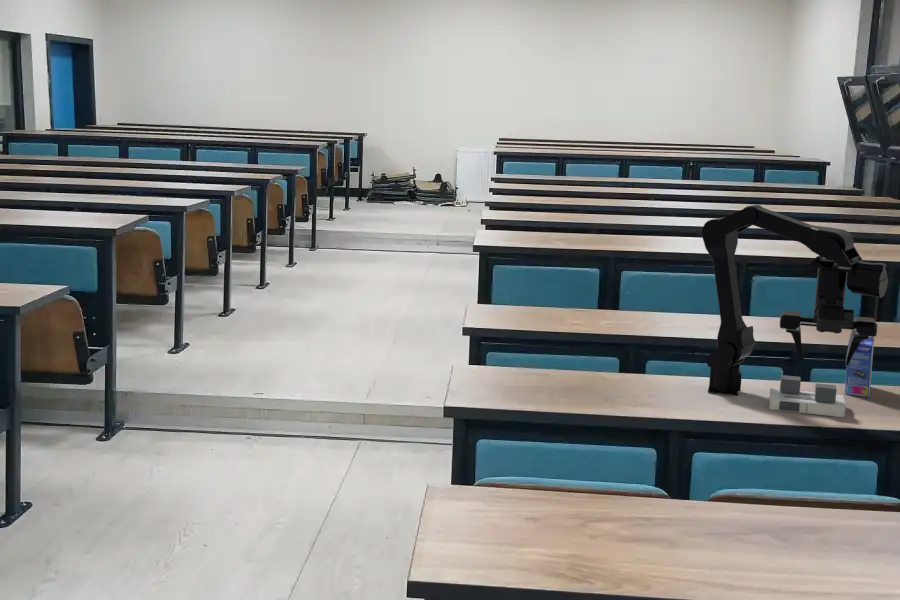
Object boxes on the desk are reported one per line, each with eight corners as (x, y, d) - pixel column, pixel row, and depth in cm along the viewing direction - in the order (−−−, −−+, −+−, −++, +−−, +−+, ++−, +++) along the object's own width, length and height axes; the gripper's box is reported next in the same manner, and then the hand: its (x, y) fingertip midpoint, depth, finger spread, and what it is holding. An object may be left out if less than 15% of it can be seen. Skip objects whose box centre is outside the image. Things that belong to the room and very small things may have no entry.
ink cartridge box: (844, 383, 224) (851, 323, 221) (870, 386, 221) (877, 325, 218) (842, 394, 215) (849, 332, 212) (869, 397, 213) (876, 335, 210)
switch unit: (769, 409, 203) (770, 398, 203) (769, 398, 211) (770, 387, 210) (844, 418, 199) (845, 406, 198) (841, 406, 206) (843, 394, 206)
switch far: (779, 392, 206) (781, 378, 206) (779, 388, 209) (781, 375, 209) (799, 394, 205) (800, 380, 205) (799, 390, 208) (800, 376, 207)
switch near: (814, 400, 201) (816, 387, 200) (814, 396, 204) (815, 383, 203) (835, 402, 200) (836, 389, 199) (834, 398, 202) (835, 385, 202)
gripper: (783, 294, 192) (776, 368, 196) (883, 301, 187) (874, 378, 190) (783, 284, 203) (776, 354, 206) (878, 291, 197) (869, 363, 200)
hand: (823, 362), depth 200 cm, fingers open, 9 cm apart
